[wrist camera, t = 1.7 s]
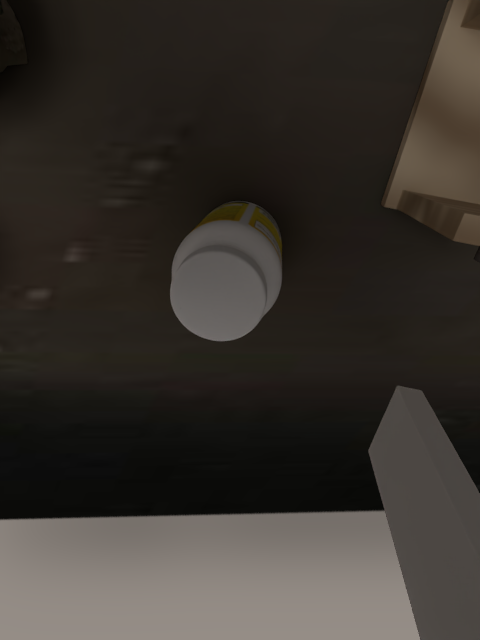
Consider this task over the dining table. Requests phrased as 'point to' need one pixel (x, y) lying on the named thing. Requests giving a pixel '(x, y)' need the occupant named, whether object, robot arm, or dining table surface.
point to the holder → (444, 134)
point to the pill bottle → (227, 272)
